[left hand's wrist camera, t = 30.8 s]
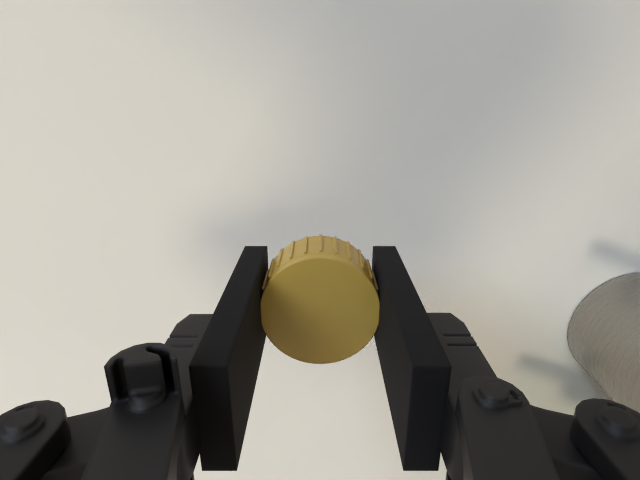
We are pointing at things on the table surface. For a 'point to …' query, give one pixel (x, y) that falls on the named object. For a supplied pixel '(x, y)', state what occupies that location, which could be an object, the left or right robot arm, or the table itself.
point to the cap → (320, 300)
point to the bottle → (610, 338)
